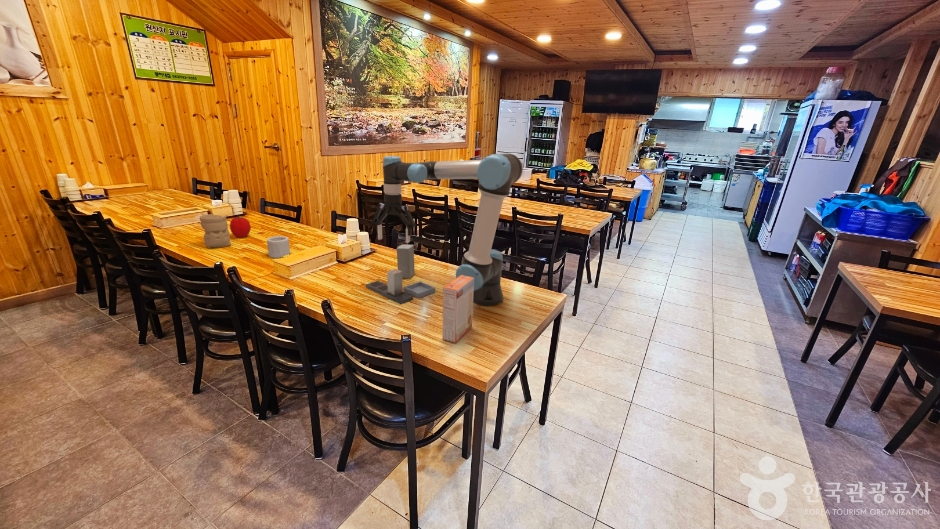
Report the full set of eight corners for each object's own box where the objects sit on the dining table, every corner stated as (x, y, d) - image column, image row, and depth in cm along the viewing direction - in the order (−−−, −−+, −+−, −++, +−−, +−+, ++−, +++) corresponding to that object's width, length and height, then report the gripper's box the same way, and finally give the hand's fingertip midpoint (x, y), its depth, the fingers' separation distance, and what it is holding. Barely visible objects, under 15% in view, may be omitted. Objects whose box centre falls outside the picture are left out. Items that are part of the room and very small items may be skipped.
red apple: (226, 238, 233) (222, 217, 228) (240, 233, 244) (237, 213, 239) (243, 240, 231) (239, 219, 226) (256, 235, 242) (253, 215, 238)
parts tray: (435, 292, 172) (435, 287, 171) (418, 298, 165) (418, 293, 164) (420, 285, 178) (420, 281, 177) (403, 291, 171) (403, 286, 170)
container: (217, 242, 224) (211, 213, 218) (236, 244, 223) (231, 214, 217) (200, 248, 213) (193, 217, 207) (220, 250, 211) (214, 219, 205)
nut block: (402, 296, 166) (402, 271, 162) (394, 299, 163) (393, 274, 159) (396, 293, 169) (395, 268, 165) (387, 296, 165) (387, 271, 161)
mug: (294, 255, 210) (292, 238, 207) (276, 259, 202) (273, 242, 198) (280, 250, 217) (278, 233, 213) (262, 254, 208) (259, 237, 205)
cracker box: (458, 323, 146) (461, 273, 139) (472, 327, 143) (475, 277, 136) (440, 339, 134) (442, 286, 127) (455, 344, 131) (458, 290, 124)
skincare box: (409, 279, 185) (409, 249, 180) (396, 277, 187) (395, 247, 181) (415, 273, 193) (415, 244, 188) (402, 271, 194) (402, 243, 189)
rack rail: (413, 299, 164) (413, 296, 163) (400, 304, 158) (400, 300, 158) (378, 283, 178) (378, 280, 178) (366, 287, 173) (365, 284, 173)
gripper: (423, 194, 161) (422, 241, 168) (370, 189, 166) (372, 235, 173) (416, 197, 154) (416, 246, 161) (362, 192, 159) (364, 239, 166)
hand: (394, 240), depth 167 cm, fingers open, 13 cm apart
